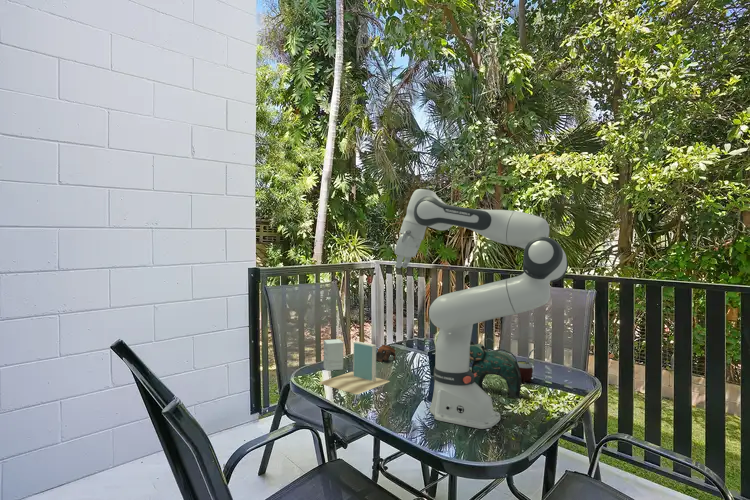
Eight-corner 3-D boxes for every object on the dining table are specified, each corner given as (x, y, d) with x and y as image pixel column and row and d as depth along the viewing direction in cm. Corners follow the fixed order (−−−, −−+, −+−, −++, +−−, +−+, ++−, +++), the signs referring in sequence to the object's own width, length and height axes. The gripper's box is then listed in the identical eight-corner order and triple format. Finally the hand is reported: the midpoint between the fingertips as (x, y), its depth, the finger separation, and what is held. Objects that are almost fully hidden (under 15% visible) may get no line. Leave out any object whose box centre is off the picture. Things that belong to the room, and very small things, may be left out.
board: (390, 383, 167) (390, 381, 167) (357, 397, 151) (357, 394, 151) (352, 373, 179) (352, 371, 179) (317, 385, 163) (317, 382, 163)
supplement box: (339, 367, 189) (339, 338, 189) (343, 371, 182) (343, 342, 182) (323, 368, 187) (323, 339, 187) (326, 373, 180) (327, 343, 180)
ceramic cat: (465, 388, 163) (466, 336, 163) (472, 384, 168) (473, 333, 168) (517, 400, 151) (518, 344, 151) (523, 395, 156) (524, 341, 156)
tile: (375, 380, 168) (376, 345, 168) (372, 381, 166) (372, 345, 166) (356, 375, 174) (356, 341, 174) (353, 376, 172) (353, 342, 172)
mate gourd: (513, 378, 176) (513, 342, 176) (533, 380, 174) (533, 343, 174) (515, 384, 169) (515, 346, 169) (536, 386, 167) (536, 348, 167)
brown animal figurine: (371, 359, 205) (378, 343, 208) (388, 367, 206) (395, 351, 209) (377, 359, 194) (384, 342, 197) (395, 367, 195) (402, 351, 198)
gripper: (414, 232, 145) (402, 270, 146) (425, 236, 164) (414, 269, 165) (397, 227, 147) (385, 265, 148) (410, 231, 166) (400, 264, 167)
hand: (401, 267), depth 157 cm, fingers open, 8 cm apart
